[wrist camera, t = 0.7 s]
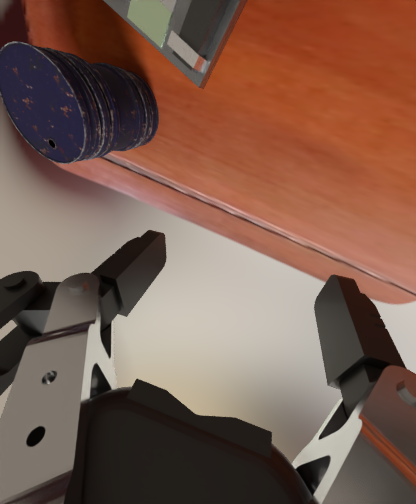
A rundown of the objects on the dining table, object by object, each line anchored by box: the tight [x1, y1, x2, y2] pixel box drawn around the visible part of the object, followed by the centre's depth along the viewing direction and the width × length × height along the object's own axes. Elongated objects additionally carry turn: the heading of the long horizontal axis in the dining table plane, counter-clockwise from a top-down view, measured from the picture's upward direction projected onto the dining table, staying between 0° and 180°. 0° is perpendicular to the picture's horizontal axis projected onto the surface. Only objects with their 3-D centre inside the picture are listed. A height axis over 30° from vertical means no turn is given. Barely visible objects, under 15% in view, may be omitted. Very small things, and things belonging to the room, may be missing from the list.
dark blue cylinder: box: [0, 42, 159, 164], centre depth 25 cm, size 10×10×15 cm
